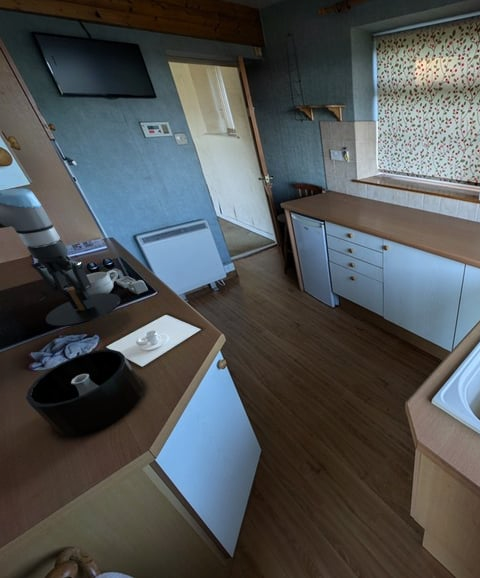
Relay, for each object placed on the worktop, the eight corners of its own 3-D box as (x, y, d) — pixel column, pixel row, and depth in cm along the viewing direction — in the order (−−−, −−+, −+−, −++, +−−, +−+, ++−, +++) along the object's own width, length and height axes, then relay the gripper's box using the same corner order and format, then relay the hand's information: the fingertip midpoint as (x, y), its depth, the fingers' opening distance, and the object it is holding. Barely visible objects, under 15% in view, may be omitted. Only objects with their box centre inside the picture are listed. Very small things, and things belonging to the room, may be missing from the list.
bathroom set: (149, 289, 128) (144, 279, 125) (137, 294, 124) (131, 283, 121) (120, 275, 138) (115, 265, 135) (108, 279, 134) (103, 269, 131)
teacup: (89, 303, 118) (78, 286, 114) (79, 295, 123) (69, 278, 119) (129, 288, 128) (121, 272, 124) (119, 281, 133) (110, 266, 129)
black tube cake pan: (34, 438, 70) (2, 408, 64) (93, 379, 86) (71, 350, 80) (112, 435, 71) (88, 405, 65) (157, 377, 87) (140, 348, 81)
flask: (107, 413, 76) (86, 388, 70) (74, 418, 74) (51, 392, 69) (122, 391, 82) (105, 365, 76) (92, 395, 80) (72, 369, 75)
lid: (30, 328, 92) (11, 304, 87) (80, 296, 108) (66, 274, 103) (93, 327, 93) (78, 304, 88) (133, 295, 109) (123, 274, 105)
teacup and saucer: (133, 345, 98) (128, 336, 95) (158, 332, 104) (153, 323, 102) (149, 354, 94) (144, 344, 92) (173, 339, 101) (169, 330, 98)
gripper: (82, 238, 91) (116, 300, 104) (28, 238, 90) (69, 301, 103) (61, 248, 85) (100, 313, 97) (2, 248, 84) (49, 313, 96)
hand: (84, 306), depth 100 cm, fingers closed on lid, 3 cm apart
